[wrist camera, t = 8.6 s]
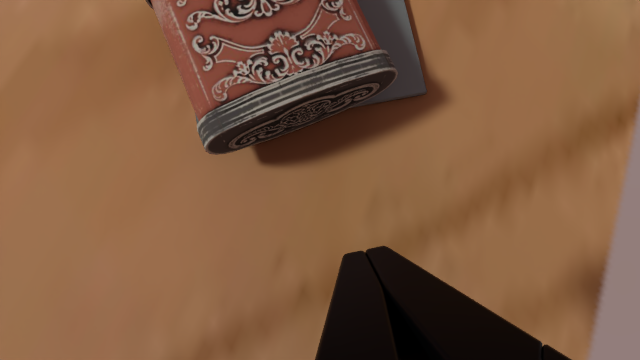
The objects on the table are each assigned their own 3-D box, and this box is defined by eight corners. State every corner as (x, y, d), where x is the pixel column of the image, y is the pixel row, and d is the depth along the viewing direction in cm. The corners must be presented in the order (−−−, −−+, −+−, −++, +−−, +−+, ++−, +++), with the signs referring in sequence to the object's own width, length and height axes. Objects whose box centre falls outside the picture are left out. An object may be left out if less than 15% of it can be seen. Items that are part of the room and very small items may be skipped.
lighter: (387, 94, 19) (298, -86, 21) (408, 56, 16) (300, -155, 17) (213, 162, 18) (134, -36, 19) (196, 136, 14) (102, -100, 16)
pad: (425, 94, 19) (426, 91, 19) (200, 135, 19) (198, 132, 18) (395, -26, 20) (396, -30, 20) (181, 10, 20) (179, 6, 19)
